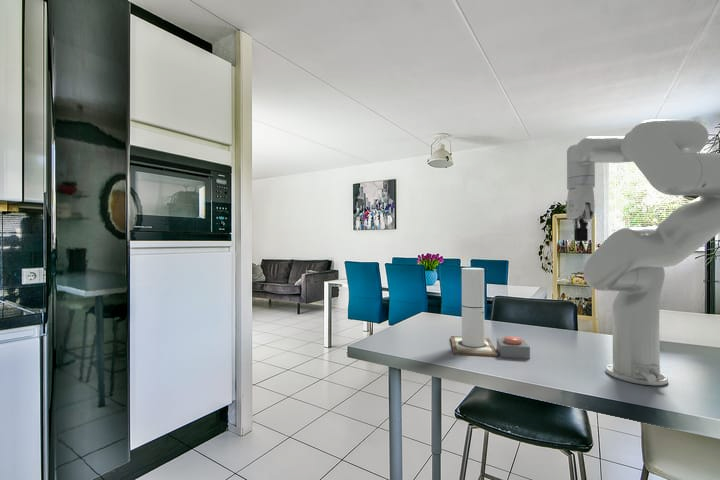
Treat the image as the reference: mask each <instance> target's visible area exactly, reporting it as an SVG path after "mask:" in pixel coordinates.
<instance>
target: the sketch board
mask: <svg viewBox="0 0 720 480" xmlns="http://www.w3.org/2000/svg"><path fill="white" fill-rule="evenodd" d="M450 342H451V347H452V354H453V355H462V356H463V355H464V356H477V357H478V356H480V357H493V358H494V357H499V352H498V351H497V349H495V347H494V345H493V343H492V341H491V340H490V338H489V337H484V346H482V347H470V346H466V345H463V344H462V336H457V335H456V336H455V335H451V336H450Z"/></svg>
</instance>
